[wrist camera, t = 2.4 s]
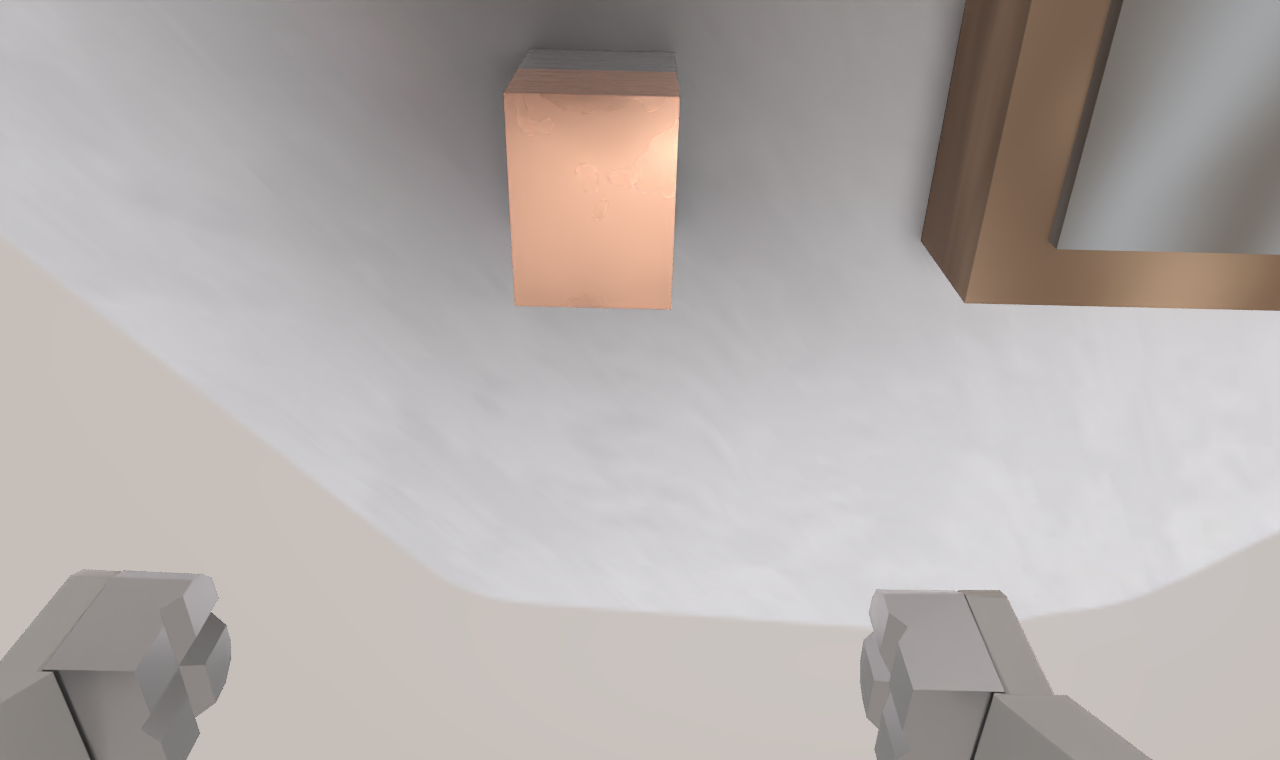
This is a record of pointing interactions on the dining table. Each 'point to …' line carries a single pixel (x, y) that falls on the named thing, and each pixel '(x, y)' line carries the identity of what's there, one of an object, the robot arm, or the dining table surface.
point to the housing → (592, 177)
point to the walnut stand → (1112, 155)
